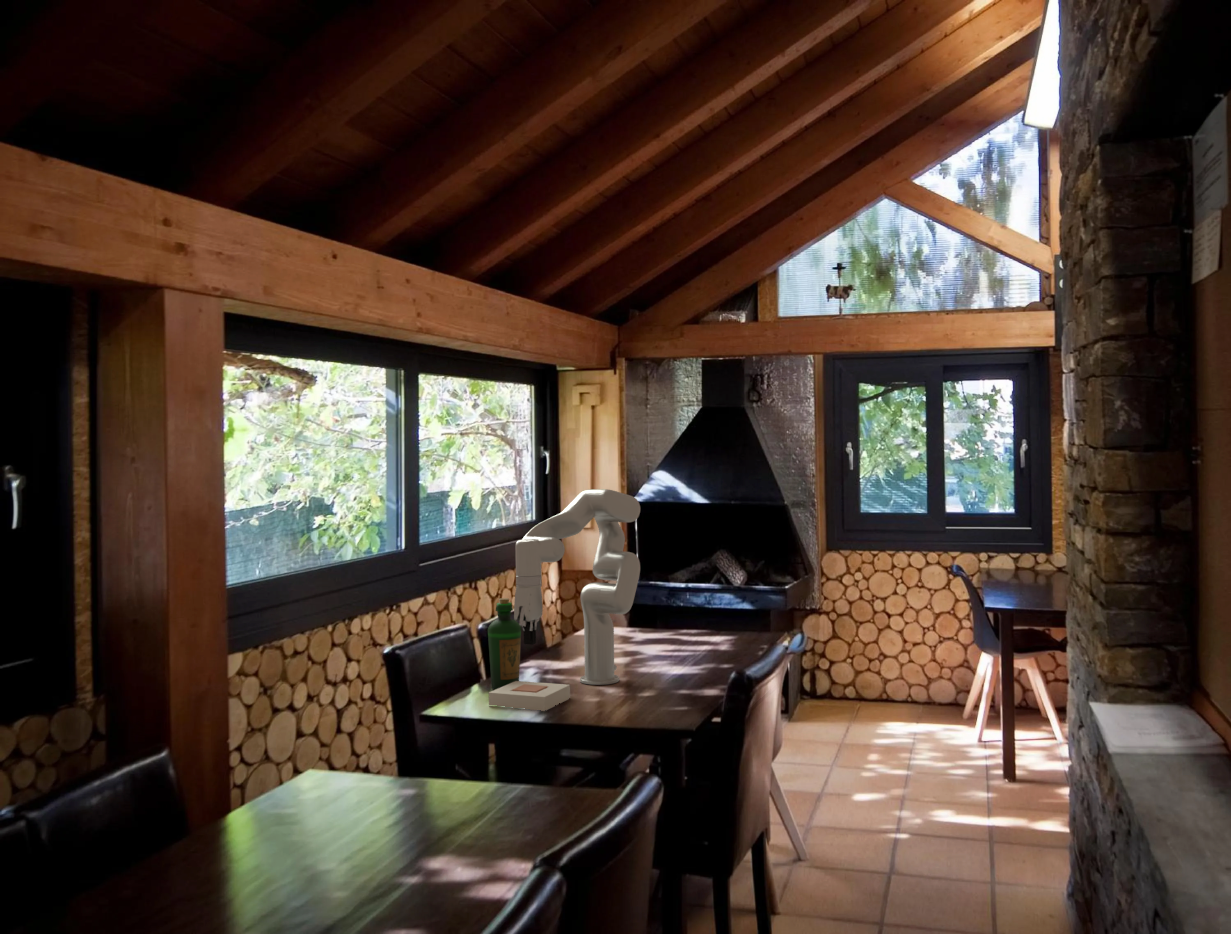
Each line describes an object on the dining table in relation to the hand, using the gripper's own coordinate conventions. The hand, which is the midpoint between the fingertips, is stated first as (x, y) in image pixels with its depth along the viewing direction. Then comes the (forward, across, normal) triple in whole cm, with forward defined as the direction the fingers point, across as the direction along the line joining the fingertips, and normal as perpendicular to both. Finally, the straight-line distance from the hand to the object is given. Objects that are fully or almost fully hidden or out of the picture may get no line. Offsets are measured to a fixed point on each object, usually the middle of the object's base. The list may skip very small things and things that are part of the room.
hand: (530, 643), depth 300 cm
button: (+17, 0, 0) cm, 17 cm away
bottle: (+17, -14, -16) cm, 28 cm away
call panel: (+17, 0, 0) cm, 17 cm away
